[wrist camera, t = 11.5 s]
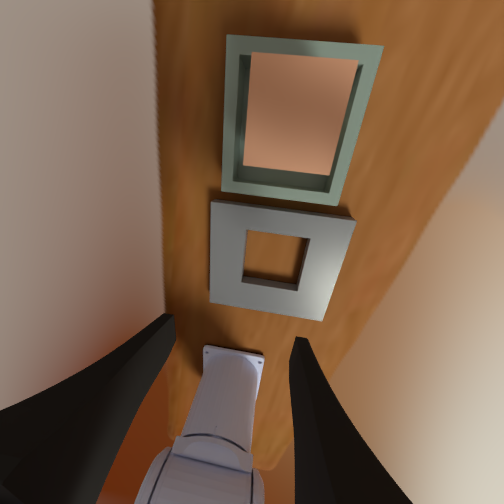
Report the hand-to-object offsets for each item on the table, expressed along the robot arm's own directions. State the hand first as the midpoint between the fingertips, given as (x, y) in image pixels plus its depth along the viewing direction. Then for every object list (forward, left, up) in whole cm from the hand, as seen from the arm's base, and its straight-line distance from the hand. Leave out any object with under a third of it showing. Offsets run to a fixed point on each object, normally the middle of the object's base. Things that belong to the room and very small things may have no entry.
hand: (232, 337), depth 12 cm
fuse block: (+11, -2, -9) cm, 14 cm away
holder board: (+1, -2, -9) cm, 10 cm away
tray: (+11, -2, -9) cm, 15 cm away
